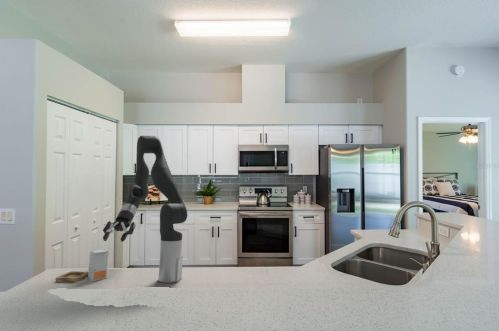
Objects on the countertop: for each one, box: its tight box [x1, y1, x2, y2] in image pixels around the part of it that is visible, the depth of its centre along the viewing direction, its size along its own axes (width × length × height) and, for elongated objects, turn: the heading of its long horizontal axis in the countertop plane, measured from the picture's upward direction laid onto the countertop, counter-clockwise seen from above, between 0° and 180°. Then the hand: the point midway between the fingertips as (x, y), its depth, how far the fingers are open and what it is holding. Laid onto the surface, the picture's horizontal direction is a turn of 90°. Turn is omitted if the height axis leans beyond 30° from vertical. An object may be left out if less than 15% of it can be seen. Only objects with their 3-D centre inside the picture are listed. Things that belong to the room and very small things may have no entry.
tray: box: [55, 270, 89, 284], centre depth 116 cm, size 9×9×2 cm
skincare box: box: [87, 249, 109, 282], centre depth 117 cm, size 6×4×12 cm
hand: (113, 240), depth 128 cm, fingers open, 8 cm apart
